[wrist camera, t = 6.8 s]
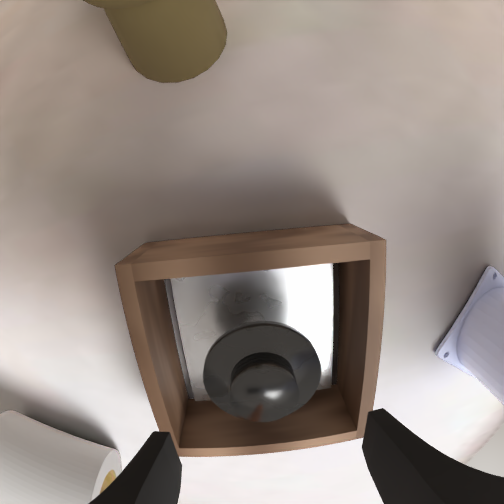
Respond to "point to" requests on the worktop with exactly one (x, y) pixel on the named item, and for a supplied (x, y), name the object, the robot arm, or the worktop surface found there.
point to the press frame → (245, 260)
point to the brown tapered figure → (168, 35)
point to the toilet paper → (51, 464)
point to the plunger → (257, 338)
